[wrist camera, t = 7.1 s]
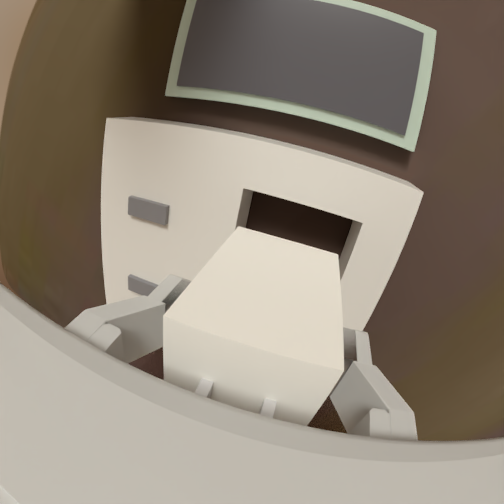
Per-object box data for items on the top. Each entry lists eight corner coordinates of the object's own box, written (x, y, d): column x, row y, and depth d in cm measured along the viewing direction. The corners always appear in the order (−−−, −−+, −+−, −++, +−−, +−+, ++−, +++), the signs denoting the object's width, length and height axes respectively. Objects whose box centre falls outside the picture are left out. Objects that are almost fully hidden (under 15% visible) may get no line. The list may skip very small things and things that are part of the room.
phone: (428, 37, 10) (437, 29, 8) (406, 149, 13) (414, 152, 11) (200, -5, 11) (189, -14, 10) (176, 97, 14) (163, 95, 13)
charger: (338, 254, 11) (343, 416, 4) (308, 332, 12) (282, 480, 6) (238, 226, 11) (135, 351, 5) (223, 307, 13) (149, 437, 7)
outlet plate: (408, 181, 13) (425, 193, 10) (324, 370, 19) (321, 400, 17) (133, 116, 15) (102, 118, 12) (126, 302, 21) (106, 322, 19)
